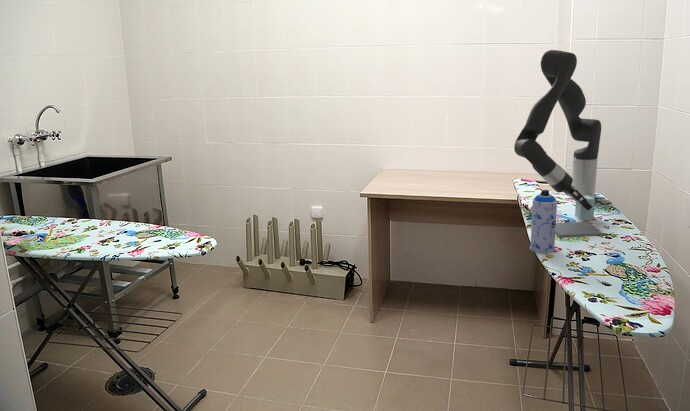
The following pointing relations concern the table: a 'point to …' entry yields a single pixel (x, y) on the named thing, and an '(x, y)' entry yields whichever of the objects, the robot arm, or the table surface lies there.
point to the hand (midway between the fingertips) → (585, 205)
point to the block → (582, 212)
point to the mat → (576, 229)
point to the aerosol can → (543, 223)
